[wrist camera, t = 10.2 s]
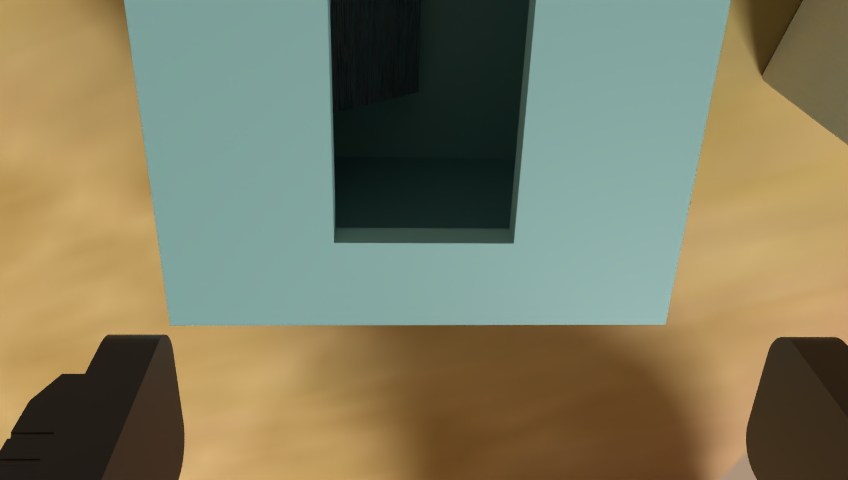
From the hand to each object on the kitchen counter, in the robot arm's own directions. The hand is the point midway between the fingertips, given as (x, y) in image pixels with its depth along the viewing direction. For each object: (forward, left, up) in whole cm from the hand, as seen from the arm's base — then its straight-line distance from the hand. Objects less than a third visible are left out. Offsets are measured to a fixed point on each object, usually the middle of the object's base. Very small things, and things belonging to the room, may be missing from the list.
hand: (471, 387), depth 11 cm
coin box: (0, 0, -26) cm, 26 cm away
